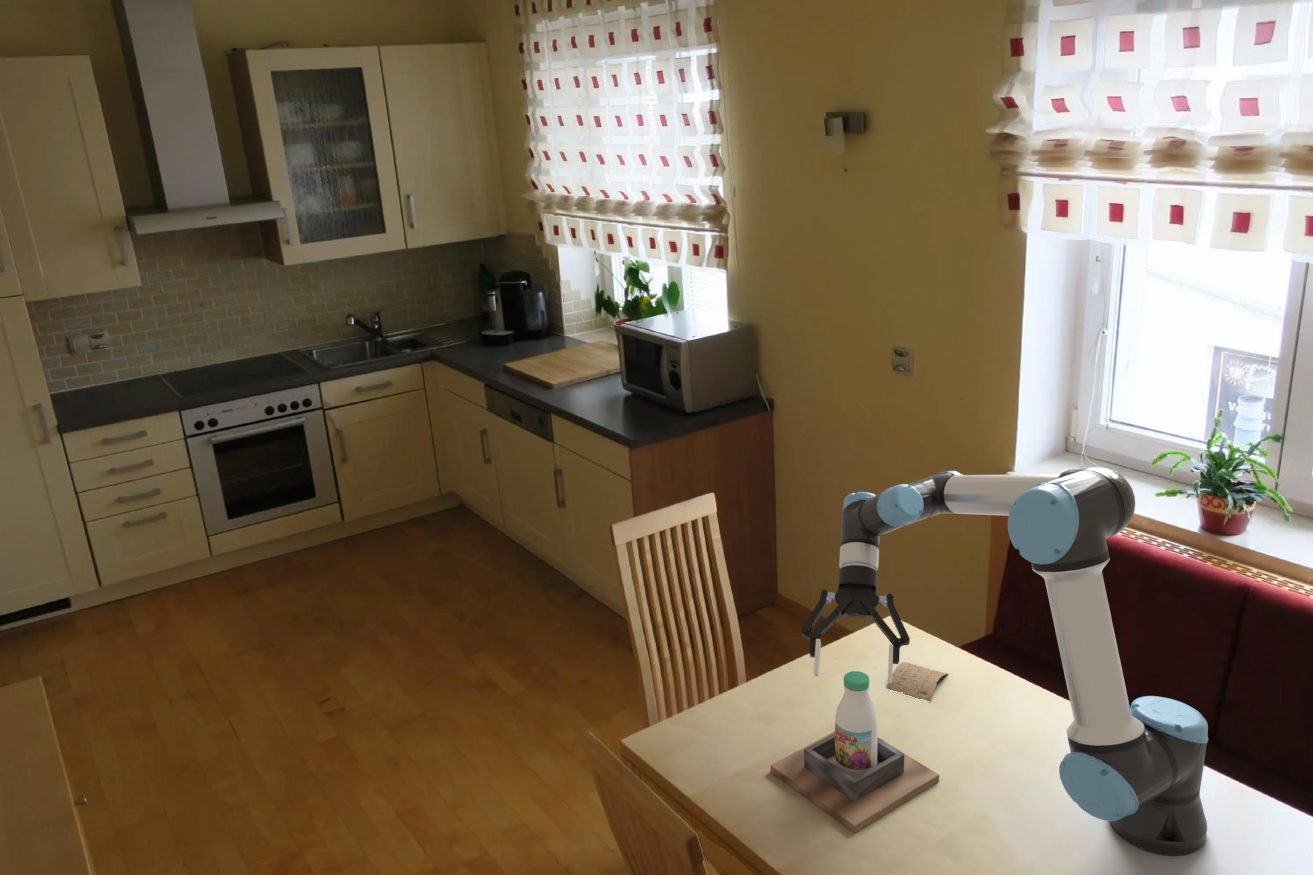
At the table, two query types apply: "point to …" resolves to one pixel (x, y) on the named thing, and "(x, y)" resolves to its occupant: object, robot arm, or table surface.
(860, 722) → the milk bottle
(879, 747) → the bottle stand
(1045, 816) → the table surface
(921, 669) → the clay tablet
